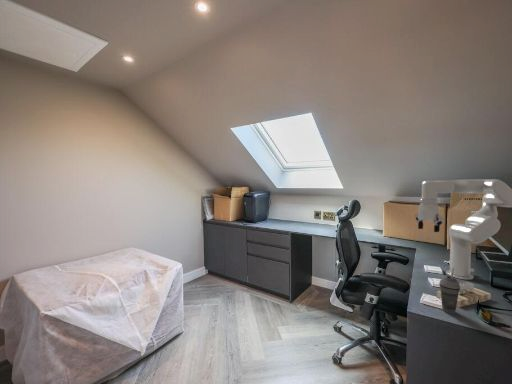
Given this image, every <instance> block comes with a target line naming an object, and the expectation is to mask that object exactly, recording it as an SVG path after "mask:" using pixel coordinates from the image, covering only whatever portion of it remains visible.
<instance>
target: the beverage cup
mask: <svg viewBox="0 0 512 384" xmlns="http://www.w3.org/2000/svg"><path fill="white" fill-rule="evenodd" d="M453 271H454V268H453V269H452V274H451V276H449V275H447V276H443V277H441V279H440V280H439V284H438V285H439V289H440V291H441V299H440V300H441V301H440V302H441V308H442V311H443V312H444V313H445V314H448V315H455V314H456V313H457V312H456V310H457V300H458V293H459V291H460V285H459V281H458V280H457V278H455V277H453Z"/></svg>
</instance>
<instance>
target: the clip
mask: <svg viewBox="0 0 512 384" xmlns="http://www.w3.org/2000/svg"><path fill="white" fill-rule="evenodd" d="M458 283H459V282H458ZM459 285H460V291H459V293H458V295H460V296H463V291H465V292H468V293H470V294H472V293H473V289H474V288H475V284H474V283H471V282H469V281H466V282H464V281H463V282H460V283H459Z"/></svg>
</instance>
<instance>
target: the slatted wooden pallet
mask: <svg viewBox="0 0 512 384" xmlns="http://www.w3.org/2000/svg"><path fill="white" fill-rule="evenodd" d="M491 296H492V294H491V293H489V292H487V291H485V290H482V289H479V288H476V287H474V289H473V293H472V294H470V293H468V292H465V291H463V296H460V295H458V300H457V306H456V308H457V307H458V308H461V307H462V308H463V307H466V306H469V305H473V304H478V303H477V302H478V300H479V303H483V302H487V301H490V300H492V299H491V298H492V297H491ZM437 297H439V298H438V299H440V298H441V290H437V291H436V298H437Z"/></svg>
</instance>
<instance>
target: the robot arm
mask: <svg viewBox="0 0 512 384" xmlns="http://www.w3.org/2000/svg"><path fill="white" fill-rule="evenodd" d="M449 193H451V194H460V195H461V194H464V195H465V194H466V195H468V194H469V195H470V194H483V197H482V200H481V201H482V205H481V208H480V209H479V210H477V211H476V212H474V213H473V214H471V215H470V216H468V217H467V218H466V219H465V220H464V224H463V223H453V224H452V225H450V226H449V228H448V235H449V242H450V246H449V249H450V250H449V261H450V265H449V269H448V270H446V275H447V276H450V277H451V274H452V269H453V268H454V271H453V278H455V279H459V280H464V281H465V280H466V281H467V280H473V279H474V275H473V274H471V273H472V272H473V273H474V272H475V269H474V268H471V259H472V258H471V256H472V247H471V244H474V245H475V244H476V245H477V244H481V243H483V242H485V241H486V240H489V238H491V237H493V236H494V235H495V234H497V233H498V232H499V230H500V229H501V222H500V220H499V219H498V217H499V216H498V215H499V212H498V208H497V207H501V208H512V188H511V187H510V186H509V185H508V184H507V183H505V182H504V181H502V180H501V179H498V178H497V179H496V178H493V179H492V178H491V179H489V178H488V179H487V178H485V179H483V178H482V179H480V178H478V179H477V178H474V179H470V178H469V179H466V178H465V179H453V180H452V179H451V180H424V181H422V183H421V199H419V201H420V203H419V206H418V212H417V213H415V214H414V218H415V220H416V222H417V223H418V225H417V227H418V228H417V229H418V230H423V229H424V221H426V222H432V223H434V225H433V227H434V228H433V233H439V232H440V226H441V225H442V224H443V223H444V221H445V217H443V216H441V215H440V209H439V208H440V206H439V205H438V194H449ZM470 243H471V244H470Z"/></svg>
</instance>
